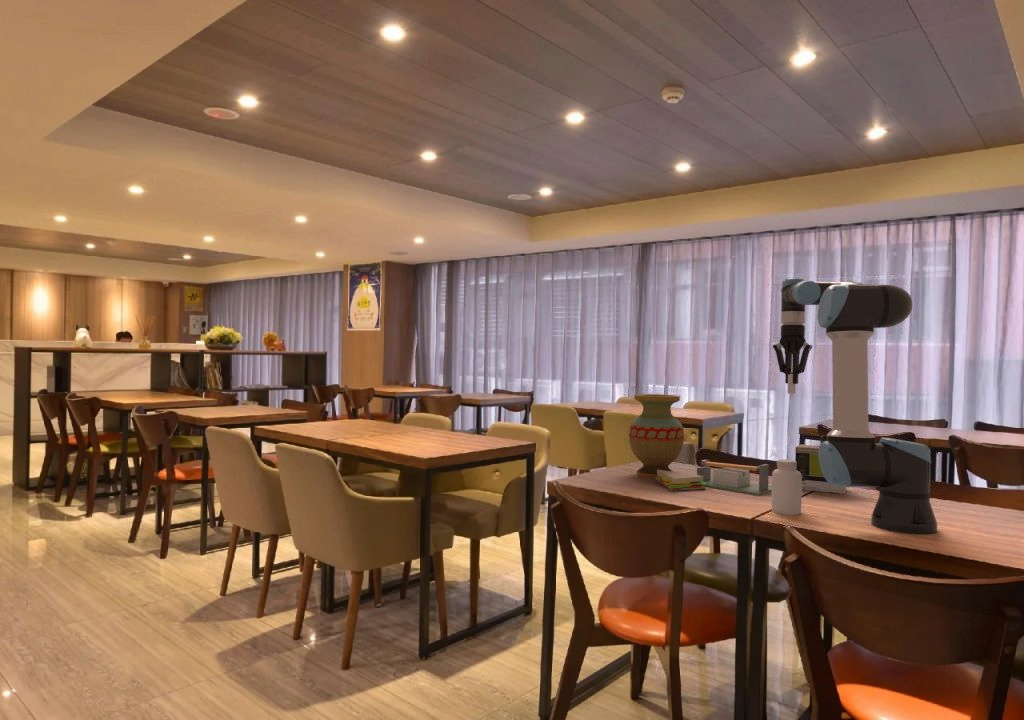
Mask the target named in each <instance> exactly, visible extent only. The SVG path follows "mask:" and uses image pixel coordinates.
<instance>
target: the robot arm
mask: <svg viewBox="0 0 1024 720" xmlns="http://www.w3.org/2000/svg"><path fill="white" fill-rule="evenodd" d="M780 291H781V307H780V308H781V313H780V323H781V324H782V325H780V339H779V342H778V343H776V344H773V345H772V348H773V349H774V351H775V354H776V355H775V356H776V359H777V365H778V368H779V372H780V373H783V374H784V377H785V378H784V379H785V381H784V382H785V384H787V394H789V395H790V394H792V395H795V394H796V385H798V384H799V375H800V374H802V373H805V369H806V366H807V362H808V358H809V354H810V351H811V350H812V348H813V345H812V344H809V343H808V342H807V341H806V339H805V335H806V334H805V333H806V332H805V330H806V328H805V323H806V322H805V321H806V320H805V319H806V306H818V309H817V323H818V325H819V327H820V328H822V329H825V335H826V337H828V338H829V339H830V340H831V347H832V348H831V349H832V350H831V351H832V352H831V353H832V357H831V358H832V359H831V362H832V363H831V366H832V368H831V370H832V373H831V376H832V377H831V378H832V386H831V387H832V429H831V430H830V431H829V432H828V433H827V434H826V440H825V441H822V442H820V444H819V445H818V446H819V451H818V457H819V464H820V468H821V471H822V474H823V476H824V478H825V479H826V480H827V481H828V482H829V483H830V484H832V485H836V486H845V487H846V488H850V487H857V488H861V487H862V488H863V487H864V488H866V487H867V488H878V489H879V492H878V498H877V501H876V504H875V506H874V508H873V511H872V514H871V517H870V518H871V519H870V520H871V522H870V523H871V526H874V527H876V528H879V529H882V530H884V531H889V532H893V533H900V534H909V535H933V534H935V533H937V532H938V522H937V518H936V516H935V513H934V511H933V510H934V509H933V508H932V507H933V506H932V503H931V500H930V499H931V468H932V466H931V464H932V458H931V450H930V448H929V447H928V445H926V444H923V443H921V442H920V443H919V442H914V441H909V440H904V439H897V438H890V437H880V439H879V442H877V443H876V436H875V435H874V434H873V432H871V431H870V430H869V365H868V364H869V361H868V360H869V359H868V358H869V357H868V356H869V355H868V353H869V351H868V343H869V342H868V341H869V339H870V338H871V337H872V336H873V335H874V334H875V329H883V328H890V327H895V326H897V325H899V324H901V323H903V322H904V321H905V320H906V319H907V318H908V317H909V316H910V314H911V312H912V310H913V299H912V297H911V295H910V293H908V291H906V290H905V289H903V288H902V287H899V286H896V285H891V284H864V283H862V282H857V281H856V282H855V281H840V282H839V281H813V280H805V279H804V278H798V277H796V278H793V277H792V278H786V279H784V280H782V282H781V289H780ZM782 348H783V350H784V354H783V350H782ZM802 348H803V350H802ZM801 350H802V353H801ZM800 354H801V356H800ZM784 355H785V356H784Z"/></svg>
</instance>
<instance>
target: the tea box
mask: <svg viewBox="0 0 1024 720" xmlns="http://www.w3.org/2000/svg"><path fill="white" fill-rule="evenodd" d="M819 446H820V445H818V444H817V445H815V444H814V445H813V444H799V445H797V446H795V460H794V461H796V462H797V466H796V467H797V469H796V470H797V471H799V472H800V473H801V475H802V490H803V489H804V490H805V491H813V492H820V491H821V493H822V492H823V493H830V492H833V494H839V493H843V494H844V493H845V492H846V491H847V487H845V486H836V485H832V484H830V483H829V482H828V481H827V480H826V479H825V478H824V476H823V474H822V471H821V468H820V464H819V457H818V451H819ZM845 490H846V491H845ZM844 491H845V492H844Z"/></svg>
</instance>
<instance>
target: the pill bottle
mask: <svg viewBox="0 0 1024 720" xmlns="http://www.w3.org/2000/svg"><path fill="white" fill-rule="evenodd" d="M796 466H797V462H796V461H795V460H793V459H777V460H776V467H777V468H775V469H774V470H773V471H772V473H771V486H772V492H771V511H772V512H773V513H776V514H779V515H785V516H787V515H788V516H798V515H801V514H802V498H803V497H802V495H803V494H802V491H803V489H802V475H801V473H800V472H799V471H797V470H796V469H797V467H796Z"/></svg>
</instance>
